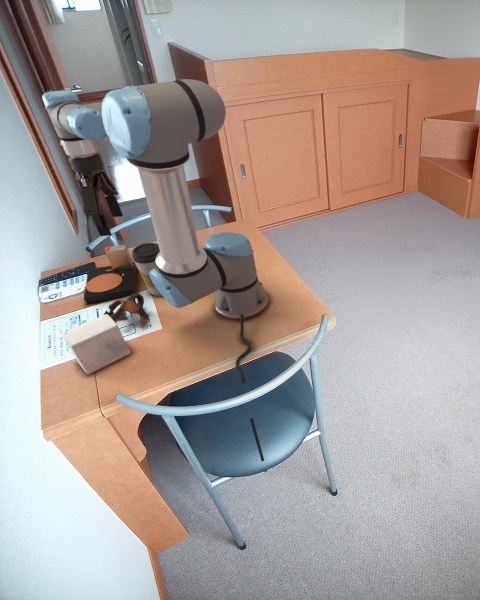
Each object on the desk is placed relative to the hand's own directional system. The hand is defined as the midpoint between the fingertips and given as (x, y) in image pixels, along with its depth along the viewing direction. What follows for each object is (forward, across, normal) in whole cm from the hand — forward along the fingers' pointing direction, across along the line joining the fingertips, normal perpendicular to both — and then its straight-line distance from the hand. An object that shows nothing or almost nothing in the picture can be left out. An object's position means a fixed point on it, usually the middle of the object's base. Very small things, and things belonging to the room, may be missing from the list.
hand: (112, 225), depth 128 cm
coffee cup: (+19, +10, +10) cm, 24 cm away
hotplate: (+18, +3, -4) cm, 19 cm away
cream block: (+15, -1, -2) cm, 15 cm away
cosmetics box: (+20, +38, 0) cm, 43 cm away
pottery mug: (+20, +23, +4) cm, 31 cm away
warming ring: (+16, +7, -6) cm, 18 cm away
